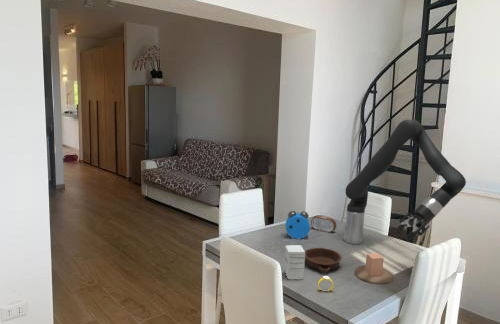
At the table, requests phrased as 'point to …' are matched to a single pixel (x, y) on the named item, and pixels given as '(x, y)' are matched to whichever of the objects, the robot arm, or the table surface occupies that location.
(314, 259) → the dish
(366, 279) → the post stand
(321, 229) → the copper desk clock
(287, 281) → the table surface
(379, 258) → the salmon pink block
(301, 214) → the alarm clock
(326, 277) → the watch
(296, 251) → the supplement box
